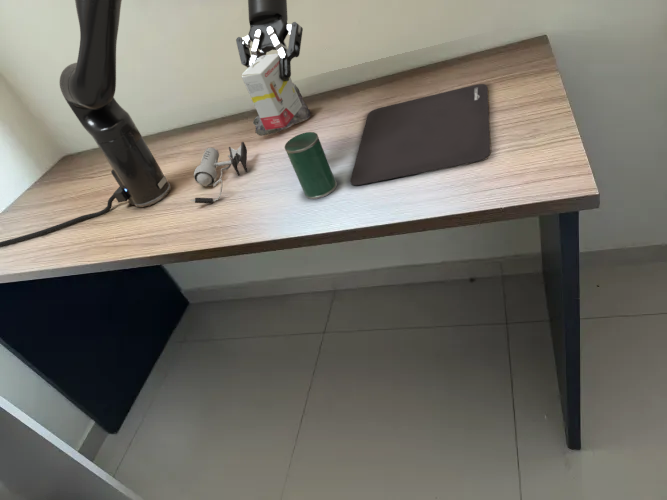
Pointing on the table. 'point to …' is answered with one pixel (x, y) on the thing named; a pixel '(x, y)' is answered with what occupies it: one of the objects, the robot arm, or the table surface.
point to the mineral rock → (298, 117)
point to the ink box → (271, 92)
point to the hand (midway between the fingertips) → (271, 82)
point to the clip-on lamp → (209, 162)
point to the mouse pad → (424, 135)
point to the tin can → (311, 165)
